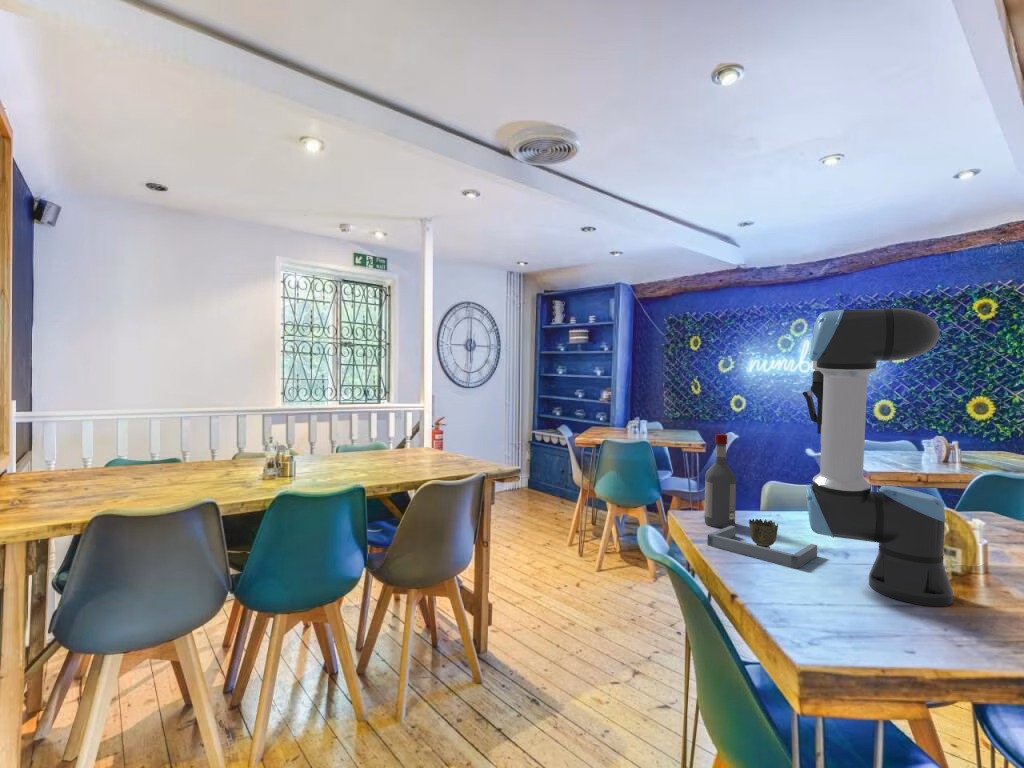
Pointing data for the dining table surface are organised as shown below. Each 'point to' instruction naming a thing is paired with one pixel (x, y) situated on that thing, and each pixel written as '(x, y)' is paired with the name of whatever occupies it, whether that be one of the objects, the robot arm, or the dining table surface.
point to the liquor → (720, 489)
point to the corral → (760, 549)
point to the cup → (763, 532)
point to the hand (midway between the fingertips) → (824, 444)
